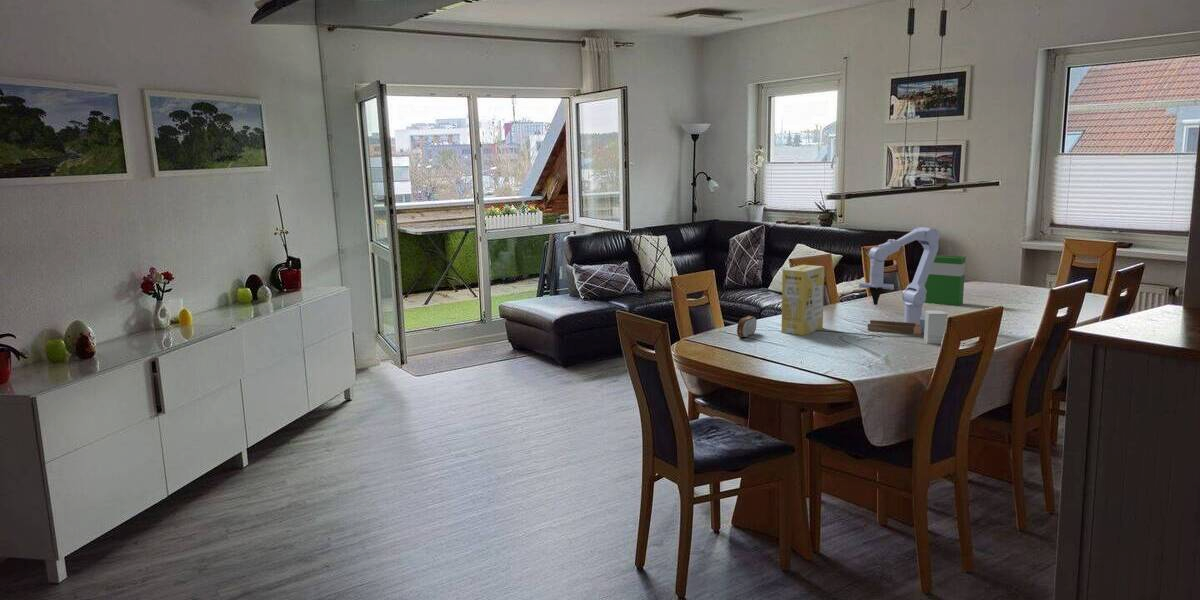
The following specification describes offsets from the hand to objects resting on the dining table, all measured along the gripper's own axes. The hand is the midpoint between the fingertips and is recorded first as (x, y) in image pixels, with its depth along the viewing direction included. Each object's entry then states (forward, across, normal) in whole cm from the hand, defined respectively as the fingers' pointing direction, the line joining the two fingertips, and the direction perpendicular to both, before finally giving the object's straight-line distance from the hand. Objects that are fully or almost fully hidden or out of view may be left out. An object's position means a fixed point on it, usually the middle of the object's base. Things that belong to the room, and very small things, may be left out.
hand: (875, 304), depth 361 cm
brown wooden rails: (+10, +9, -4) cm, 14 cm away
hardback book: (+11, +25, +68) cm, 73 cm away
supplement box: (+11, +26, -20) cm, 35 cm away
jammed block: (+10, +22, -4) cm, 25 cm away
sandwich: (+11, -49, -35) cm, 61 cm away
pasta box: (+11, -29, -16) cm, 35 cm away
